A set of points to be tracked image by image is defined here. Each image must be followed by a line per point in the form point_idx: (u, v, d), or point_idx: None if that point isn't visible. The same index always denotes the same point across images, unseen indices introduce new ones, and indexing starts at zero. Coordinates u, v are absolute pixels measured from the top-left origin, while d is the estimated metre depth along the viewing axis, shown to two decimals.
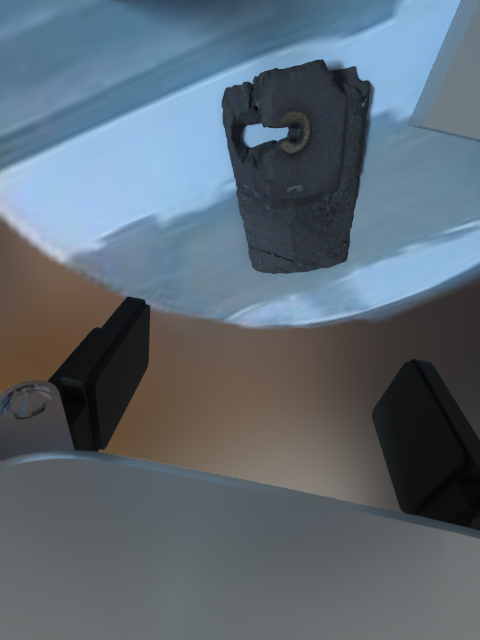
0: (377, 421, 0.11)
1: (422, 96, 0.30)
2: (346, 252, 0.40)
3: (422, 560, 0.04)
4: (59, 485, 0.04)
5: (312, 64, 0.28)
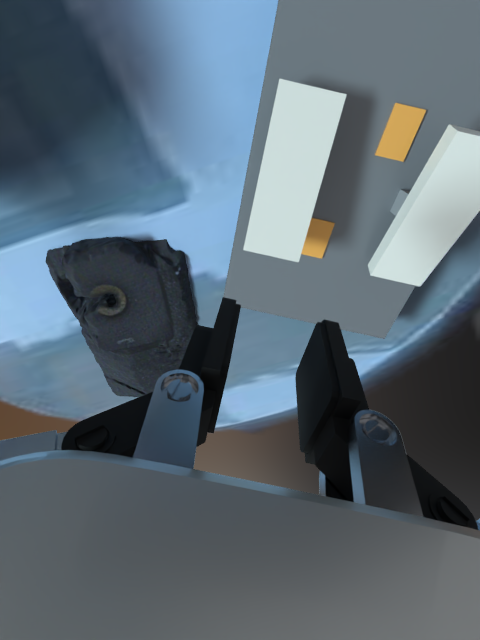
0: (297, 380, 0.12)
1: None
2: None
3: (421, 560, 0.04)
4: (59, 485, 0.04)
5: (110, 247, 0.29)
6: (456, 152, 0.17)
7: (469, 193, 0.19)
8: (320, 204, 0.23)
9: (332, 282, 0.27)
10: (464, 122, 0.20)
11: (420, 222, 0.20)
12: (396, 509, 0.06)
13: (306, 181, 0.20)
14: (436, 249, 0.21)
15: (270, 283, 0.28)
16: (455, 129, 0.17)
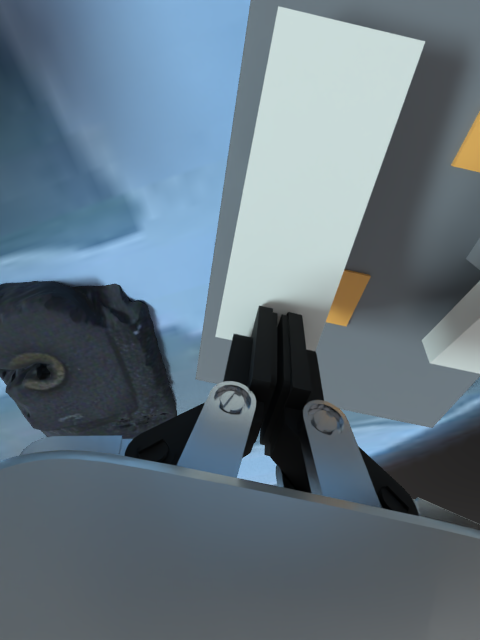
0: None
1: None
2: None
3: (422, 559, 0.04)
4: (59, 485, 0.04)
5: (31, 304, 0.19)
6: None
7: None
8: None
9: (360, 357, 0.18)
10: None
11: None
12: (354, 500, 0.06)
13: (330, 222, 0.10)
14: None
15: None
16: None
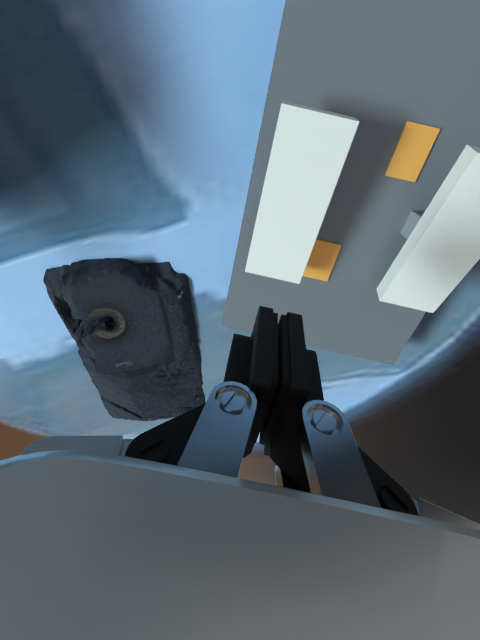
0: None
1: None
2: (202, 403, 0.39)
3: (421, 560, 0.04)
4: (59, 485, 0.04)
5: (111, 270, 0.27)
6: (475, 175, 0.16)
7: None
8: (325, 225, 0.22)
9: (338, 306, 0.25)
10: None
11: (434, 247, 0.19)
12: (353, 500, 0.06)
13: (309, 212, 0.18)
14: (451, 275, 0.20)
15: (272, 306, 0.26)
16: (474, 150, 0.15)
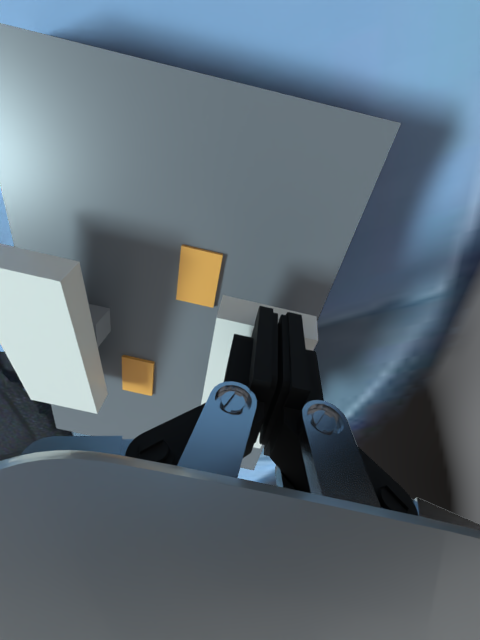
0: None
1: None
2: None
3: (421, 560, 0.04)
4: (59, 485, 0.04)
5: None
6: (227, 337, 0.12)
7: None
8: (130, 343, 0.18)
9: (174, 417, 0.22)
10: (277, 269, 0.15)
11: None
12: (353, 501, 0.06)
13: (63, 357, 0.15)
14: None
15: (103, 413, 0.23)
16: (218, 311, 0.12)
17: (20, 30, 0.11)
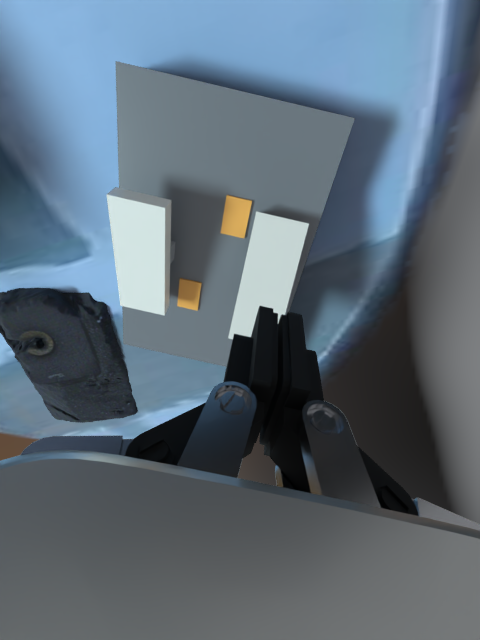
0: None
1: None
2: (134, 407, 0.45)
3: (420, 559, 0.04)
4: (59, 485, 0.04)
5: (35, 301, 0.33)
6: (261, 226, 0.23)
7: (282, 258, 0.23)
8: (186, 268, 0.27)
9: (211, 329, 0.31)
10: (285, 210, 0.24)
11: (254, 283, 0.24)
12: (353, 500, 0.06)
13: (152, 265, 0.24)
14: (276, 308, 0.24)
15: (160, 328, 0.32)
16: (256, 212, 0.23)
17: (147, 69, 0.20)
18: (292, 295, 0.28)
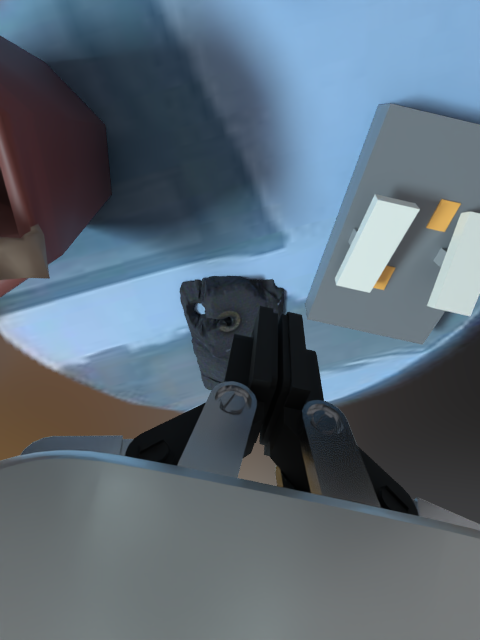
0: None
1: (310, 291, 0.42)
2: None
3: (421, 559, 0.04)
4: (58, 486, 0.04)
5: (239, 286, 0.41)
6: (472, 222, 0.31)
7: None
8: None
9: (388, 305, 0.39)
10: None
11: (461, 265, 0.32)
12: (353, 500, 0.06)
13: (383, 252, 0.32)
14: (475, 285, 0.32)
15: (344, 305, 0.39)
16: (467, 212, 0.31)
17: (412, 109, 0.28)
18: None
